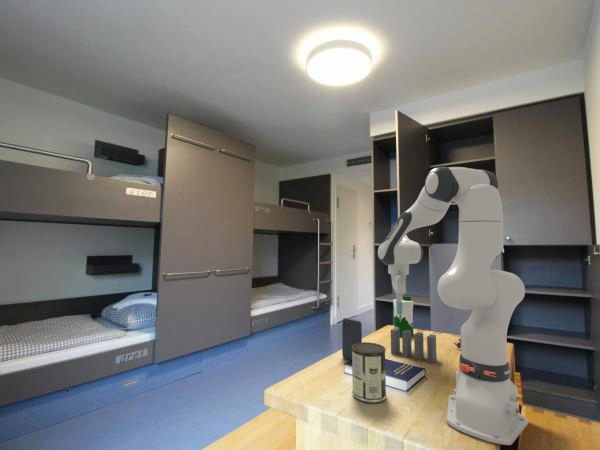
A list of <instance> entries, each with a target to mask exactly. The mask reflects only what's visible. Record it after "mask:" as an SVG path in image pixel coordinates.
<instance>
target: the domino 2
mask: <svg viewBox="0 0 600 450" xmlns="http://www.w3.org/2000/svg"><path fill="white" fill-rule="evenodd" d="M397 298H398V295H397V292H396V294H395V299H396V312H397V314H402V303H398V299H397Z"/></svg>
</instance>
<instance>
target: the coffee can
mask: <svg viewBox="0 0 600 450" xmlns="http://www.w3.org/2000/svg"><path fill="white" fill-rule="evenodd" d="M351 366H352V368H351V369H352V371H351V372H352V377H351V378H352V379H351V381H352V395H353V397H355V398H356V399H357V400H360V401H362V402H365V403H380V402H383V401H384V400H386V398H387V392H386V391H387V388H386V383H387V381H386V378H387V377H386V347H385V346H383V345H381V344H379V343H375V342H367V341H366V342H364V341H363V342H361V343H356V344H353V345H352V361H351Z"/></svg>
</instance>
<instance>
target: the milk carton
mask: <svg viewBox="0 0 600 450" xmlns="http://www.w3.org/2000/svg"><path fill="white" fill-rule="evenodd" d="M392 304H393V325H394V326H393V328H400V338H402V332H403V331H405V330H411V338H412V337H413V338H414V334H415V333H414V316H413V315H414V314H413V313H414V312H413V311H414V300H412V298H411V296H410V295H403V297H402V314H397V312H396V298H395V299H392Z"/></svg>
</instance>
